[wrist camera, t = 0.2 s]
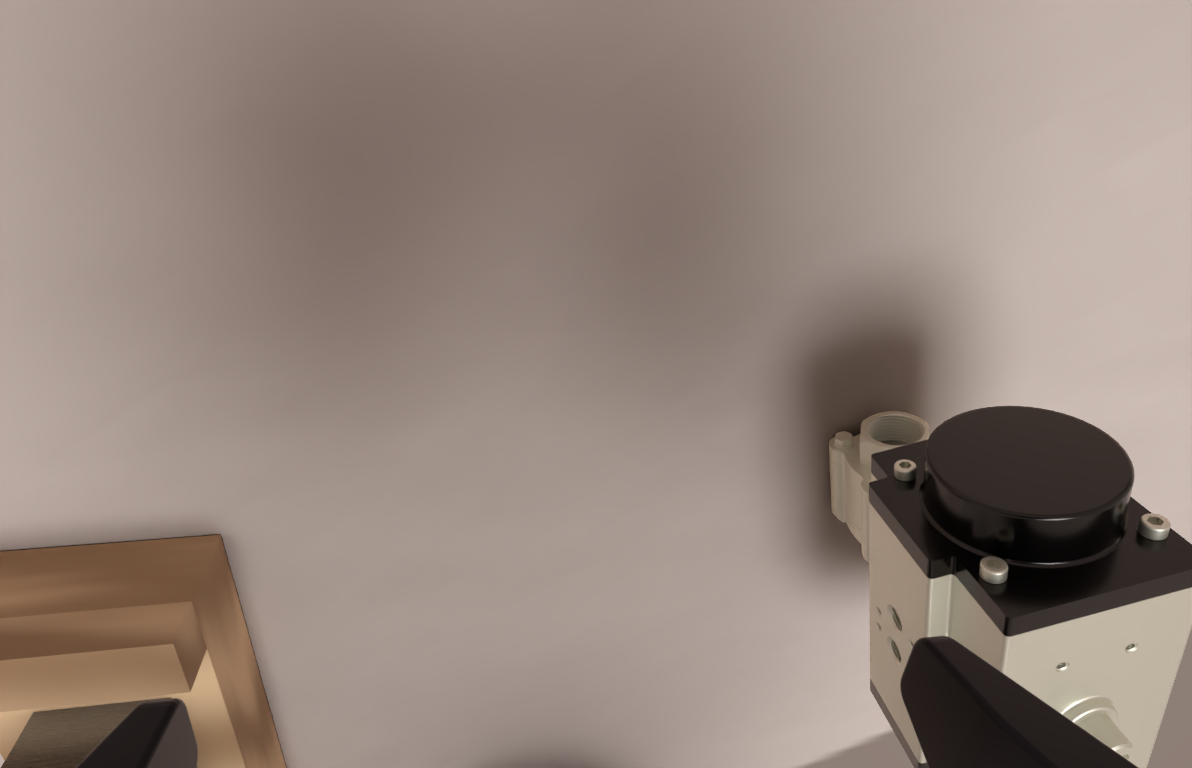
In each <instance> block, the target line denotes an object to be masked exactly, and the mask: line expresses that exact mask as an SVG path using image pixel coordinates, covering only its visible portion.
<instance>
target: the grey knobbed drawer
mask: <svg viewBox="0 0 1192 768" xmlns="http://www.w3.org/2000/svg"><path fill="white" fill-rule="evenodd" d="M160 699H172V698H171V697H169V698H159V699H150V700H160ZM145 701H149V700H141V701H131V702H122V703H112V704H103V705H94V706H84V707H75V708H65V709H56V710H47V711H37V712H33V714H32V715H31V717H30V719H29V720H28V722H27V724H26V726H25V727H24V729H23V731H22V733H21V734H20V736H19V738H18V739H17V741H16V743H15V745H14V746H13V748H12V750H11V751H10V753H9V755H8V757H7V758H6V760H5V762H4V763H3V765H2V767H1V768H76V767H77V766H78V765H79V763H80V762H81V761H82V760H83V759H84V758H85V757H86V756H87V755H88V754H89V753H90V752H91V751H92V750H93V749H94V748H95V747H96V746H97V745H98V744H99V743H100V742H101V741H102V740H103V739H104V738H105V737H106V736H107V735H108V734H109V733H110V732H111V731H112V730H113V729H114V728H115V727H116V726H117V725H118V724H119V723H120V722H121V721H122V720H123V719H124V718H125V717H126V716H127V715H128V714H129V713H130V712H131V711H132V710H133V709H134V708H135V707H136V706H138V705H139V704H141V703H142V702H145ZM196 768H198V767H196Z"/></svg>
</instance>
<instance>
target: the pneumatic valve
mask: <svg viewBox="0 0 1192 768" xmlns="http://www.w3.org/2000/svg"><path fill="white" fill-rule="evenodd" d="M829 458H830V482H831V506H832V513H833V514H834V515H835V516H837V517H838V520H840V521H842V522H844V523H847V525H848V528H849V529H850V531H851V533H852V534H853V536H854V537H855V538H856V539H857V540H858V541H859V542H860V543H861V550H862V556H863V558H864V559H865V560H866V561H867V562H869V586H870V690H871V692H872V694H873V695H874V697H875V699H876V701H877V702H878V704H879V706H880V708H881V709H882V711H883V713H884V715H885V717H886V718H887V720H888V722H889V724H890V725H891V727H892V729H893V731H894V732H895V734H896V736H897V738H898V739H899V741H900V743H901V744H902V746H903V748H904V750H905V752H906V754H907V755H908V757H909V759H910V761H911V762H912V764H913V766H914V768H929V767H928V764H927V762H926V759H925V756H924V754H923V751H922V749H921V746H920V743H919V741H918V738H917V736H916V733H915V730H914V728H913V725H912V723H911V720H910V717H909V715H908V712H907V709H906V707H905V704H904V702H903V699H902V695H901V689H900V682H901V677H902V674H903V671H904V669H905V666H906V663H907V661H908V658H909V656H910V653H911V650H912V648H913V645H914V643H915V642H916V641H917V640H918V639H919V638H923V637H935V636H947V637H950V638H952V639H954V640H956V641H957V642H959V643H960V644H962V645H963V646H964V647H966V648H967V649H969V650H970V651H972V652H973V653H975V654H976V655H977V656H979V657H980V658H982V659H983V660H985V661H986V662H987V663H989V664H990V665H992V666H993V667H995V668H996V669H998V670H999V671H1000V672H1002V673H1003V674H1005V675H1006V676H1008V677H1009V678H1011V679H1012V680H1013V681H1015V682H1016V683H1018V684H1019V685H1021V686H1022V687H1023V688H1025V689H1026V690H1028V691H1029V692H1031V693H1032V694H1034V695H1035V696H1036V697H1038V698H1039V699H1041V700H1042V701H1044V702H1045V703H1046V704H1048V705H1049V706H1051V707H1052V708H1054V709H1055V710H1057V711H1058V712H1059V713H1061V714H1062V715H1064V716H1065V717H1067V718H1068V719H1069V720H1071V721H1072V722H1074V723H1075V724H1077V725H1078V726H1080V727H1081V728H1082V729H1084V730H1085V731H1087V732H1088V733H1090V734H1091V735H1093V736H1094V737H1095V738H1097V739H1098V740H1100V741H1101V742H1103V743H1104V744H1105V745H1107V746H1108V747H1110V748H1111V749H1113V750H1114V751H1116V752H1117V753H1118V754H1120V755H1121V756H1123V757H1124V758H1126V759H1127V760H1128V761H1130V762H1131V763H1133V764H1134V765H1136V766H1137V767H1139V768H1147V765H1148V762H1149V759H1150V755H1151V752H1152V749H1153V746H1154V743H1155V740H1156V736H1157V734H1158V731H1159V727H1160V724H1161V721H1162V718H1163V715H1164V712H1165V709H1166V706H1167V702H1168V699H1169V696H1170V693H1171V690H1172V686H1173V684H1174V681H1175V677H1176V674H1177V671H1178V668H1179V665H1180V662H1181V659H1182V655H1183V653H1184V649H1185V646H1186V643H1187V640H1188V637H1189V634H1190V630H1191V628H1192V545H1191V544H1190V543H1189V542H1188V541H1186V540H1185V539H1184V538H1183V537H1181V536H1180V535H1179V534H1177V533H1176V532H1175V531H1174V530H1172V529H1171V528H1170V526H1171V525H1170V522H1169V521H1168V519H1166V518H1165V517H1163V516H1161V515H1158V514H1152V513H1151V512H1149V511H1148V510H1147V509H1146V508H1144V507H1143V506H1142V505H1141V504H1139V503H1138V502H1137V501H1135V500H1134V499H1133V498H1132V497H1130V496H1131V491H1132V487H1133V483H1134V468H1133V464H1132V462H1131V460H1130V458H1129V456H1128V454H1127V453H1126V451H1125V450H1124V449H1123V448H1122V447H1121V445H1120V444H1119V443H1118V442H1117V441H1116V440H1114V439H1113V438H1112V437H1111V436H1109V435H1108V434H1107V433H1105V432H1104V431H1102V430H1101V429H1099V428H1097V427H1095V426H1093V425H1092V424H1089V423H1087V422H1085V421H1083V420H1080V419H1078V418H1075V417H1073V416H1069V415H1066V414H1063V413H1059V412H1055V411H1051V410H1046V409H1041V408H1033V407H1023V406H996V407H987V408H980V409H976V410H971V411H968V412H964V413H961V414H959V415H956V416H954V417H952V418H950V419H948V420H947V421H945V422H944V423H942V424H941V425H940V426H938V427H937V428H936V429H935V430H934V431H933V432H932V434H931V435H930V436H929V423H927V422H926V421H924V420H923V419H921V418H920V417H918V416H916V415H913V414H910V413H906V412H901V411H886V412H880V413H877V414H874V415H872V416H870V417H868V418H866V419H865V420H863V421H862V424H861V431H860V434H859V435H856V436H852V434H851V433H849V432H846V431H842V432H838V433H836V434H835V437H833V438H832V439H831V440H830V441H829Z"/></svg>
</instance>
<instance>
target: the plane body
mask: <svg viewBox="0 0 1192 768" xmlns="http://www.w3.org/2000/svg"><path fill="white" fill-rule="evenodd" d="M169 697H171V698H178V699H181V700H182V701H183V702H184V703H185V705H186V707H187V711H188V714H189V717H190V721H191V724H192V728H193V731H194V734H195V738H196V741H197V746H198V760H197V767H198V768H286V765H285V761H284V758H283V754H282V751H281V747H280V744H279V740H278V737H277V733H276V730H275V726H274V723H273V719H272V715H271V712H270V708H269V705H268V701H267V698H266V694H265V691H264V687H263V684H262V680H261V676H260V673H259V669H258V666H257V662H256V659H255V655H254V652H253V648H252V645H251V641H250V638H249V634H248V630H247V627H246V623H245V620H244V616H243V613H242V609H241V606H240V602H239V599H238V595H237V591H236V588H235V584H234V581H233V577H232V574H231V570H230V567H229V563H228V560H227V556H226V553H225V549H224V545H223V542H222V538H221V535H211V536H198V537H184V538H171V539H158V540H145V541H132V542H119V543H106V544H93V545H80V546H67V547H53V548H40V549H27V550H14V551H1V552H0V753H1V755H2V757H3V758H4V760H6V758H7V757H8V755H9V753H10V751H11V750H12V748H13V746H14V745H15V743H16V741H17V739H18V738H19V736H20V734H21V733H22V731H23V729H24V727H25V726H26V724H27V722H28V720H29V719H30V717H31V715H32V714H33V712H37V711H47V710H56V709H65V708H75V707H84V706H94V705H103V704H112V703H122V702H131V701H141V700H150V699H159V698H169Z"/></svg>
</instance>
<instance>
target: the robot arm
mask: <svg viewBox="0 0 1192 768" xmlns="http://www.w3.org/2000/svg"><path fill="white" fill-rule="evenodd" d="M900 689H901V695H902V699H903V702H904V704H905V707H906V709H907V712H908V715H909V717H910V720H911V723H912V725H913V728H914V730H915V733H916V736H917V738H918V741H919V743H920V746H921V749H922V751H923V754H924V756H925V759H926V762H927V764H928V767H929V768H1139V767H1137V766H1136V765H1134V764H1133V763H1131V762H1130V761H1128V760H1127V759H1126V758H1124V757H1123V756H1121V755H1120V754H1118V753H1117V752H1116V751H1114V750H1113V749H1111V748H1110V747H1108V746H1107V745H1105V744H1104V743H1103V742H1101V741H1100V740H1098V739H1097V738H1095V737H1094V736H1093V735H1091V734H1090V733H1088V732H1087V731H1085V730H1084V729H1082V728H1081V727H1080V726H1078V725H1077V724H1075V723H1074V722H1072V721H1071V720H1069V719H1068V718H1067V717H1065V716H1064V715H1062V714H1061V713H1059V712H1058V711H1057V710H1055V709H1054V708H1052V707H1051V706H1049V705H1048V704H1046V703H1045V702H1044V701H1042V700H1041V699H1039V698H1038V697H1036V696H1035V695H1034V694H1032V693H1031V692H1029V691H1028V690H1026V689H1025V688H1023V687H1022V686H1021V685H1019V684H1018V683H1016V682H1015V681H1013V680H1012V679H1011V678H1009V677H1008V676H1006V675H1005V674H1003V673H1002V672H1000V671H999V670H998V669H996V668H995V667H993V666H992V665H990V664H989V663H987V662H986V661H985V660H983V659H982V658H980V657H979V656H977V655H976V654H975V653H973V652H972V651H970V650H969V649H967V648H966V647H964V646H963V645H962V644H960V643H959V642H957V641H956V640H954V639H952V638H950V637H947V636H935V637H923V638H919V639H918V640H917V641H916V642H915V643H914V645H913V648H912V650H911V653H910V656H909V658H908V661H907V663H906V666H905V669H904V671H903V674H902V677H901V682H900ZM197 760H198V746H197V741H196V738H195V734H194V731H193V728H192V724H191V721H190V717H189V714H188V711H187V707H186V705H185V703H184V702H183V701H182V700H181V699H178V698H172V699H160V700H149V701H145V702H142V703H141V704H139V705H138V706H136V707H135V708H134V709H133V710H132V711H131V712H130V713H129V714H128V715H127V716H126V717H125V718H124V719H123V720H122V721H121V722H120V723H119V724H118V725H117V726H116V727H115V728H114V729H113V730H112V731H111V732H110V733H109V734H108V735H107V736H106V737H105V738H104V739H103V740H102V741H101V742H100V743H99V744H98V745H97V746H96V747H95V748H94V749H93V750H92V751H91V752H90V753H89V754H88V755H87V756H86V757H85V758H84V759H83V760H82V761H81V762H80V763H79V765H78V766H77V767H76V768H196V767H197Z"/></svg>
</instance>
